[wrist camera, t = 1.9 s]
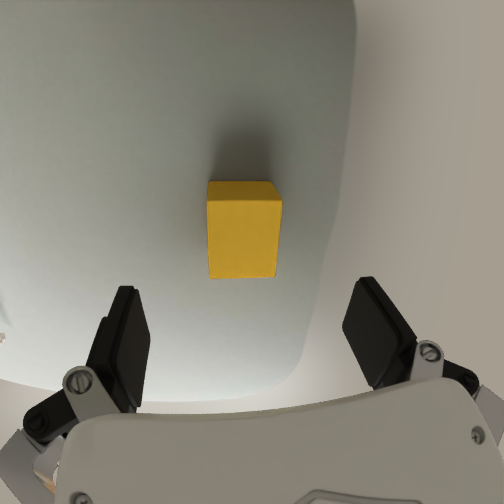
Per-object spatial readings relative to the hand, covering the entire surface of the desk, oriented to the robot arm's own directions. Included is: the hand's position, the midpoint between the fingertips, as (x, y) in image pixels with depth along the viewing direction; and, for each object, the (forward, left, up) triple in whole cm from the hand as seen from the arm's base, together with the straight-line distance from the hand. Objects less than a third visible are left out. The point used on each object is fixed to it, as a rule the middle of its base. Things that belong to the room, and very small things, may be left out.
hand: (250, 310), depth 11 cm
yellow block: (0, 0, -9) cm, 9 cm away
